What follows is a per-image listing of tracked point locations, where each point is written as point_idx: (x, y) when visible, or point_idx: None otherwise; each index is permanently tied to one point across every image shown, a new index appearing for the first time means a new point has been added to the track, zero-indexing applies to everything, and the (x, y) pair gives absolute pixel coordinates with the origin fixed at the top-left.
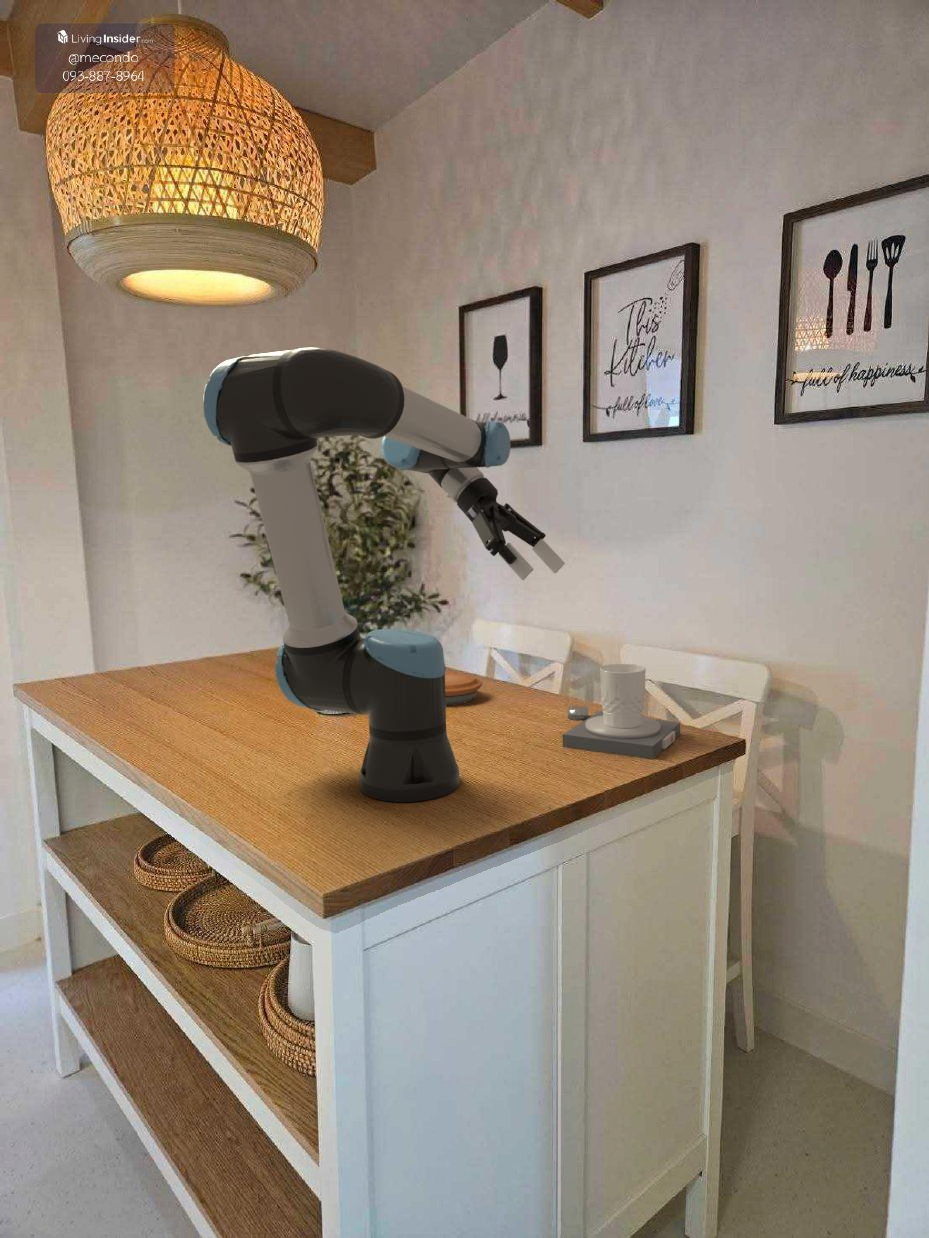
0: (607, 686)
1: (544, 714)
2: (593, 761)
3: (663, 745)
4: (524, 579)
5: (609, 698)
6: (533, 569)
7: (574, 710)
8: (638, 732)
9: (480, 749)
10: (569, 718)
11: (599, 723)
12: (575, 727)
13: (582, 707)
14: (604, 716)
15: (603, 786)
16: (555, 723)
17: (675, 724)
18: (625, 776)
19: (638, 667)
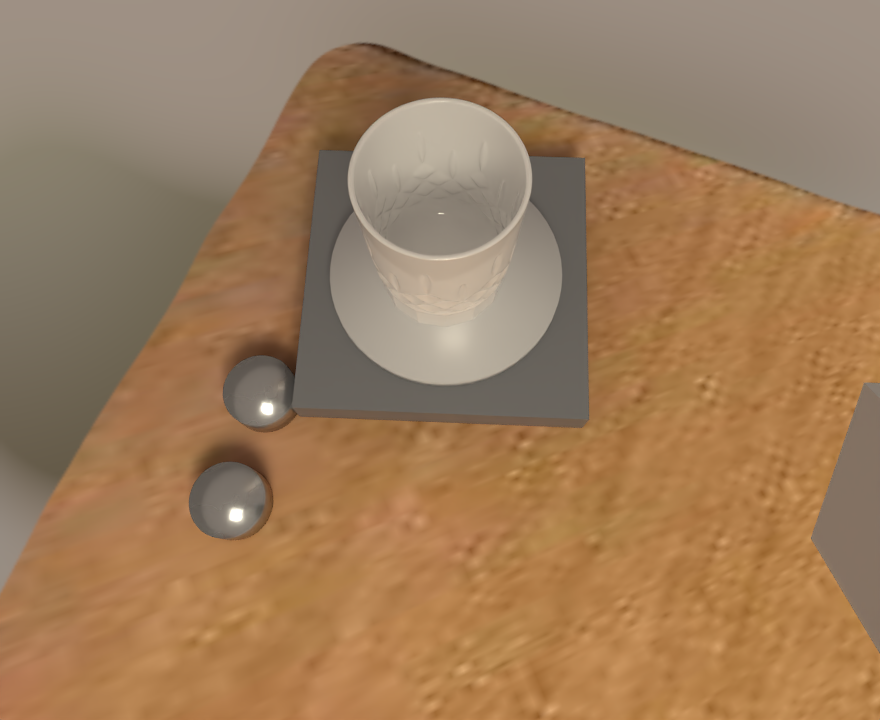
0: (516, 237)
1: (227, 640)
2: (668, 303)
3: None
4: (813, 533)
5: (513, 250)
6: (867, 387)
7: (256, 502)
8: None
9: (730, 668)
10: (263, 524)
11: (468, 335)
12: (496, 409)
13: (205, 489)
14: (481, 305)
15: (836, 223)
16: (334, 551)
17: (348, 156)
18: (740, 199)
19: (370, 140)
